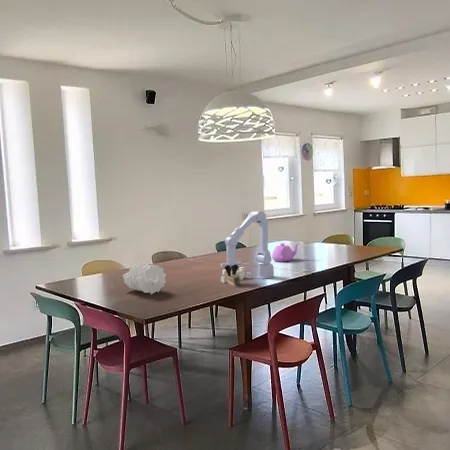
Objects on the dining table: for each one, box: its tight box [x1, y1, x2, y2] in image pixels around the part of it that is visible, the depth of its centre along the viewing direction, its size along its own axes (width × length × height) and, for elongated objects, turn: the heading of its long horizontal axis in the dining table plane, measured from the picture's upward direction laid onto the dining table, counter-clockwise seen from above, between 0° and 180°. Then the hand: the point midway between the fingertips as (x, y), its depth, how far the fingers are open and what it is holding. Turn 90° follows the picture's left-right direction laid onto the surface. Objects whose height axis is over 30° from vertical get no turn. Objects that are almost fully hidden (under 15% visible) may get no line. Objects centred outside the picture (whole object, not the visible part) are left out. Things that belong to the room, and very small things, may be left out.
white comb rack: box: [220, 266, 252, 284], centre depth 303 cm, size 21×6×7 cm, turn 120°
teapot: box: [271, 242, 299, 263], centre depth 367 cm, size 22×22×14 cm
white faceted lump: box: [122, 261, 167, 295], centre depth 281 cm, size 18×18×25 cm
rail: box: [222, 274, 241, 287], centre depth 293 cm, size 4×15×5 cm, turn 27°
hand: (231, 277), depth 293 cm, fingers closed on rail, 3 cm apart
